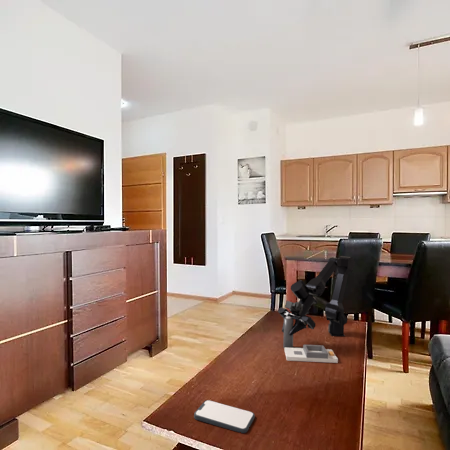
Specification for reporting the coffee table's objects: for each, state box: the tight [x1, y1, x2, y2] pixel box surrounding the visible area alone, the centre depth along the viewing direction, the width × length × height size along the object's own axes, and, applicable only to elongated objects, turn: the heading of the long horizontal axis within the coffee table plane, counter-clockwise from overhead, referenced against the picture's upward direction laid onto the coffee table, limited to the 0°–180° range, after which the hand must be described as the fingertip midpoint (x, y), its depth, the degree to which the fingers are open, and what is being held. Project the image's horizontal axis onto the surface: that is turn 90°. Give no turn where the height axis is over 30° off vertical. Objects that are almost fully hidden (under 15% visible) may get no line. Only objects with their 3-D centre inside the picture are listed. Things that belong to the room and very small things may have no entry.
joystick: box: [283, 316, 294, 350], centre depth 142 cm, size 4×4×14 cm
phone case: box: [193, 399, 256, 434], centre depth 91 cm, size 9×2×16 cm
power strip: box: [284, 344, 339, 364], centre depth 133 cm, size 20×10×4 cm, turn 85°
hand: (286, 333), depth 141 cm, fingers closed on joystick, 4 cm apart
